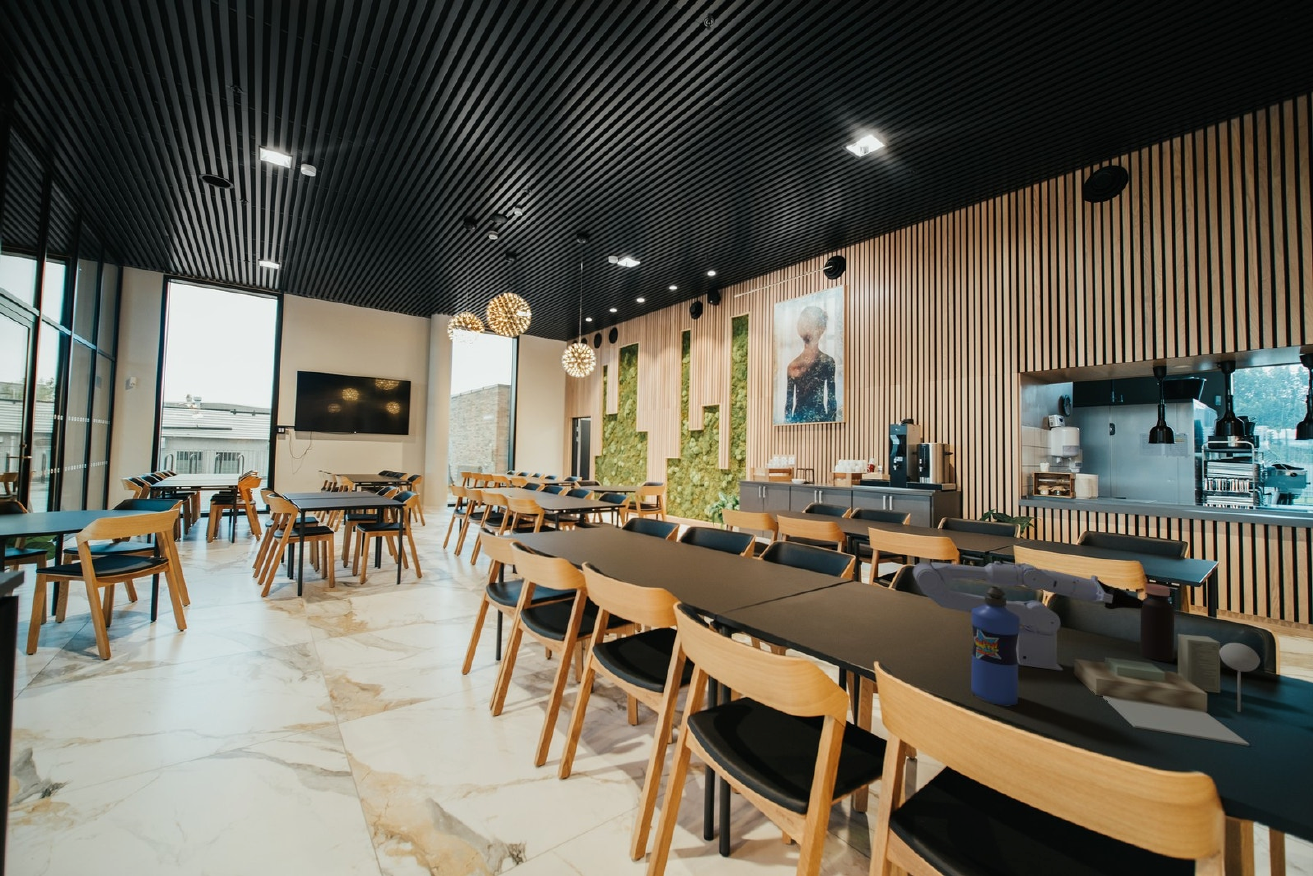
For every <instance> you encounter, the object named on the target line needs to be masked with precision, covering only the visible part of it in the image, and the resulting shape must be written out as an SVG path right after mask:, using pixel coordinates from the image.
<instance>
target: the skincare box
mask: <svg viewBox="0 0 1313 876" xmlns="http://www.w3.org/2000/svg"><path fill="white" fill-rule="evenodd" d="M1220 649H1221V642H1219V641H1218V640H1216V639H1214V638H1211V637H1210V636H1206V635H1205V636H1204V635H1192V634H1182V633H1178V634H1177V674H1178V675H1180V676H1181V677H1183V678H1184V679H1186V680H1187V681H1189V682H1190V683H1192V684H1193V685H1195V686H1196V687H1198V688H1199V689H1201V690H1202V691H1204V692H1206V693H1207V692H1208V693H1218V694H1220V693H1221V656H1220V654H1219V651H1220Z"/></svg>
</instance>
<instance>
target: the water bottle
mask: <svg viewBox="0 0 1313 876" xmlns="http://www.w3.org/2000/svg"><path fill="white" fill-rule="evenodd" d="M985 593H986V594H985V595H984V597H985V603H986V604H985V605H984V606H981V607H977V608H973V609H972V613H971V618H970V619H971V620H970V622H971V623H970V624H971V626H972V627H971V628H972V635H973V646H972V652H971V666H970V667H971V669H970V670H971V671H970V672H971V676H970V678H971V680H970V682H971V683H970V684H971V686H970V692H971V691H972V692H973V693H974V694H975V695H976V696H979V697H980V698H982V699H984V700H987V701H989V702H993V703H995V704H999V705H1015V704H1018V702H1019V701H1018V699H1019V663H1018V660H1017V653H1016V646H1017V640H1018V633H1019V627H1021V626H1020V625H1021V624H1020V617H1019V616H1017V615H1016V614H1014V613H1012V612H1011V611H1009V610H1007V609H1006V607H1005V606H1006V601H1007V598H1006V597H1005V595H1006V593H1005V592H1004V591H1003V589H1002V588H1001V587H998V586H990V587H989V588H988V589H986V590H985ZM999 705H998V706H999ZM1015 706H1016V705H1015Z"/></svg>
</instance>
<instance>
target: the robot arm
mask: <svg viewBox="0 0 1313 876" xmlns="http://www.w3.org/2000/svg"><path fill="white" fill-rule="evenodd" d="M912 576H913V578H914V579H915V581H916V584H917V586H918V587H919V589H920V590H921V592H922V594H924V595H925V596H927V597H928V598H929V599H931V601H932V602H934V603H935V604H937V605H938V606H940V607H942V608H944V609H950V610H956V611H960V612H966V613H971V614H972V609H973V608H977V607H981V606H984V605H985V604H986V603H985V596H983V595H977V594H971V593H966V592H960V591H954V590H949V588H947V586H946V585H945V584H947V583H948V582H950V581H952V580H953V579H968V580H969V579H973V580H975V579H977V580H985V581H987V583H989V584H990V585H995V586H1008V587H1021V586H1024V587H1025V588H1027V589H1030V590H1031V591H1041V590H1042V591H1045V592H1046V591H1047V592H1048V593H1052V594H1056V595H1060V596H1065V597H1069V598H1073V599H1077V600H1081V601H1086V602H1088V603H1091V604H1094V603H1095V604H1096V603H1099V602H1100V603H1101V602H1104V608H1106V609H1108V610H1116V609H1123V608H1124V609H1137V610H1138V609H1139V610H1141V609H1142V605H1143V599H1141V598H1138V597H1136V596H1133V595H1130V594H1128V592H1126V591H1125V590H1124V591H1123V590H1121V589H1119V588H1116V587H1114V586H1112V585H1108V584H1106V583H1104V582H1102V581H1100V580H1099V577H1098V576H1097V575H1094V574H1092V575H1091V577H1090V578H1086V577H1082V576H1077V575H1073V574H1069V573H1064V572H1059V571H1055V570H1048V569H1044V568H1038V567H1035V565H1031V564H1029V563H1024V562H1023V563H1020V562H1019V563H1017V562H1016V563H1015V564H1008V563H1002V562H1000V560H999V561H998V560H995V561H994V562H989V563H987V564H986V565H985V566H975V565H966V564H956V563H947V562H946V563H945V562H930V563H929V562H919V563H917V564H916V565H915V566H914V567H913V569H912ZM1005 607H1006V609H1007V610H1009V611H1011V612H1012V613H1014V614H1016V615H1017V616H1019V617H1020V625H1023V626H1020V627H1019V633H1018V640H1017V646H1016V653H1017V660H1018V665H1021V666H1026V667H1032V668H1033V667H1034V668H1040V669H1046V670H1055V671H1059V672H1060V671H1061V672H1063V671H1064V669H1063V668H1062V667H1061V665H1060V664H1058V663H1057V662H1058V660H1057V657H1058V656H1057V655H1058V654H1057V652H1058V651H1057V650H1058V630H1059V628H1061V619H1060V617H1059V615H1058V614H1057V613H1056V612H1054V611H1053V610H1051V609H1050V608H1048V607H1047V606H1046V605H1045V604H1044V603H1043V602H1042V601H1039V600H1035V599H1033V600H1028V601H1021V600H1015V601H1010V600H1006V606H1005Z"/></svg>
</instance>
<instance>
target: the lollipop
mask: <svg viewBox="0 0 1313 876" xmlns="http://www.w3.org/2000/svg"><path fill="white" fill-rule="evenodd" d="M1219 654H1220V660H1222V662H1223V663H1224V664H1225V665H1226V666H1228V667H1229V668H1231V669H1233V670H1235V671H1237V697H1236V698H1237V703H1236V704H1237V705H1236V706H1237V710H1236V711H1237V712H1238V713H1241V701H1242V699H1241V691H1242V689H1241V688H1242V687H1241V686H1242V685H1241V684H1242V683H1241V682H1242V680H1241V678H1242V677H1241V675H1242V672H1245V673H1246V672H1251V671H1254V670H1256V669H1257V668H1258V667H1259V666H1260V663H1261V659H1260V657H1259V655H1258V653H1257V652H1256V651H1255V650H1254V649H1253V648H1252V647H1250V646H1247V645H1246V644H1243V643H1239V642H1229V643H1226V644H1225V645H1223V646H1222V647H1220V651H1219Z"/></svg>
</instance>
